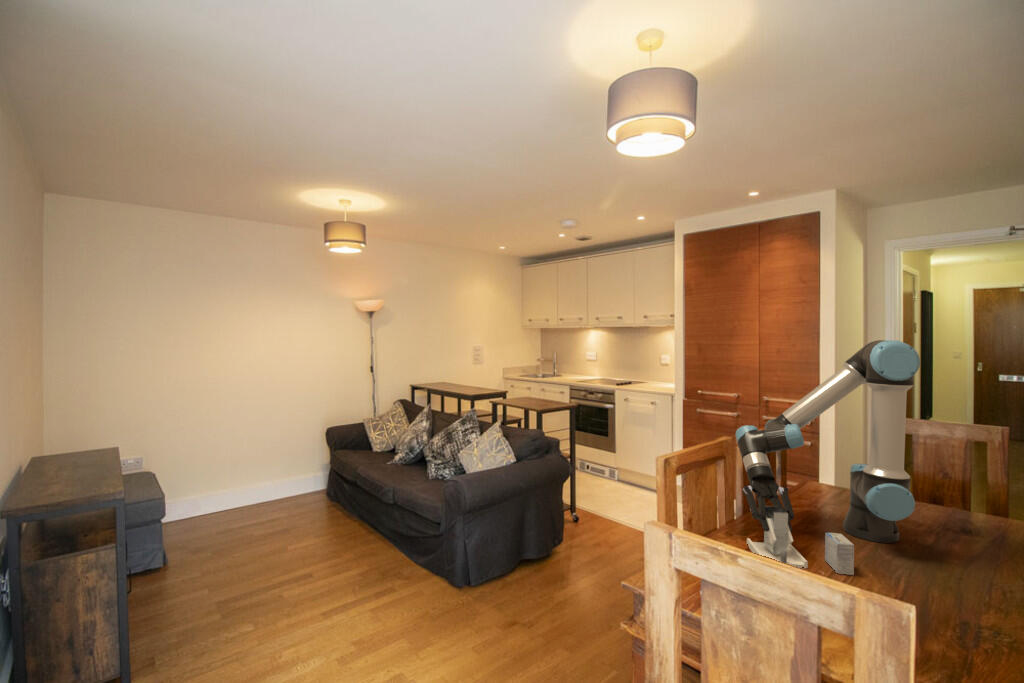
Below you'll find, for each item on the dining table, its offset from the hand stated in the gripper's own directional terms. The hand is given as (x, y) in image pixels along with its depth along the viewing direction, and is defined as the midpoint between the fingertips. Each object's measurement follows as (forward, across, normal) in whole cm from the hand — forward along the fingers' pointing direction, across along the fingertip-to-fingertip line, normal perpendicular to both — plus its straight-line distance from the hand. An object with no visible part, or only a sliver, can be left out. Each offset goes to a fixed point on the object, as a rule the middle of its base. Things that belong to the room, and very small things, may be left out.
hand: (781, 542), depth 143 cm
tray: (+1, 0, -7) cm, 7 cm away
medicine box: (+6, -14, -2) cm, 16 cm away
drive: (0, 0, -6) cm, 6 cm away
